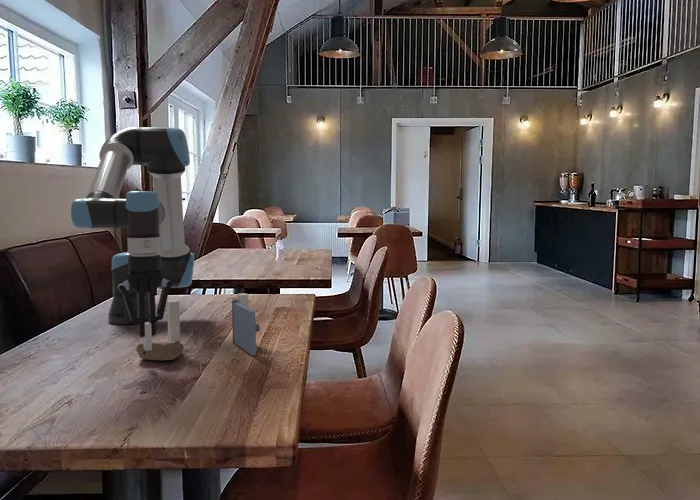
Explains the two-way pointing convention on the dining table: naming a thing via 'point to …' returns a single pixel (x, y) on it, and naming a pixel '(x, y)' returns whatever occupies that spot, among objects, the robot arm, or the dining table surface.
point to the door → (244, 327)
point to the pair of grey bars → (175, 316)
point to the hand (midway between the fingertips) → (147, 348)
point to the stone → (161, 351)
